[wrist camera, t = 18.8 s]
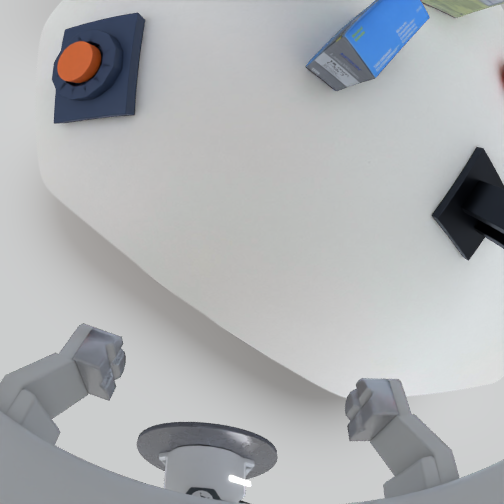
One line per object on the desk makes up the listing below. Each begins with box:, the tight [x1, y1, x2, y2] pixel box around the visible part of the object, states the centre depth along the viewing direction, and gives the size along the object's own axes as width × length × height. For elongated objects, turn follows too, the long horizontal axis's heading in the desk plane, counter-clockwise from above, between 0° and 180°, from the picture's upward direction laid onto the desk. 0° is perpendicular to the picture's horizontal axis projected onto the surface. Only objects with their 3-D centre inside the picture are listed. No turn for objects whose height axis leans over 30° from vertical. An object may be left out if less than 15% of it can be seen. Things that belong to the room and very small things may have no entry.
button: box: [57, 41, 101, 83], centre depth 16 cm, size 4×4×2 cm
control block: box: [52, 13, 145, 123], centre depth 18 cm, size 10×8×4 cm
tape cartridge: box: [306, 0, 429, 91], centre depth 15 cm, size 9×4×12 cm, turn 142°
